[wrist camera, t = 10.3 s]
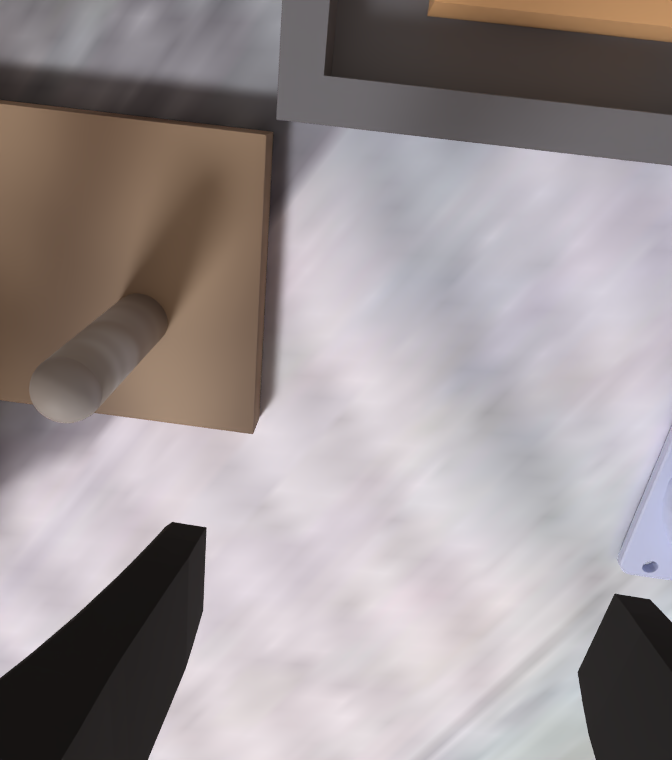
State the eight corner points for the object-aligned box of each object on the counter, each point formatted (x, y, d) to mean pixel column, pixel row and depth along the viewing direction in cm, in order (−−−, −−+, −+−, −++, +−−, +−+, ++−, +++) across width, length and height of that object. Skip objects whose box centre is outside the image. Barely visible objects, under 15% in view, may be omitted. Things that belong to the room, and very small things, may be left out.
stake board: (273, 132, 16) (208, 159, 11) (259, 418, 20) (206, 548, 15) (-87, 89, 17) (-334, 95, 11) (-29, 379, 21) (-188, 492, 15)
